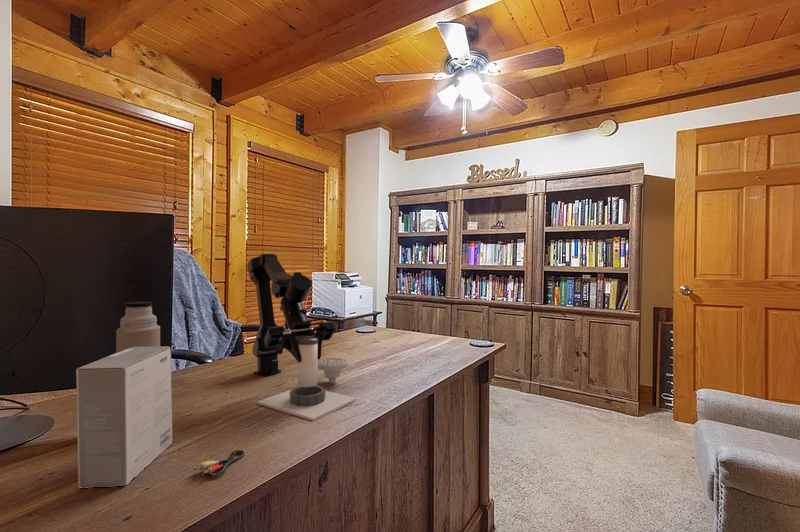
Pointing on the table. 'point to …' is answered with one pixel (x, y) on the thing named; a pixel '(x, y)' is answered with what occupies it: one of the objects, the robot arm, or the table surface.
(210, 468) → the composite cable
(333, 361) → the showerhead
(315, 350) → the canister
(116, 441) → the hard drive box
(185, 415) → the table surface
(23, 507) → the table surface
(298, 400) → the socket
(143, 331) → the thermos bottle
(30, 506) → the table surface
